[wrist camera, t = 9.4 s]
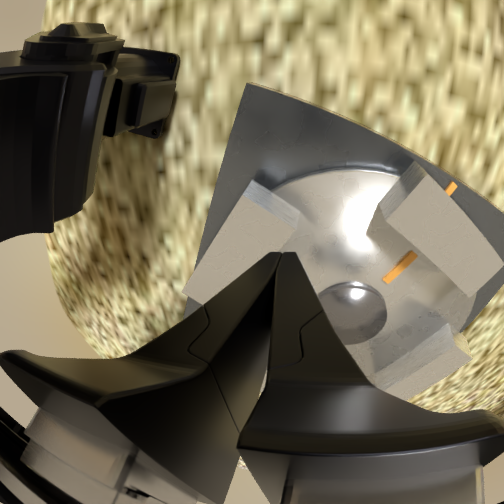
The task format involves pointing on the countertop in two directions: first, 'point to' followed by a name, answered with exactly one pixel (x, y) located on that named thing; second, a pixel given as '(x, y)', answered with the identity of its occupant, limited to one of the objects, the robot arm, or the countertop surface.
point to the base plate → (325, 165)
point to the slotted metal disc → (367, 265)
